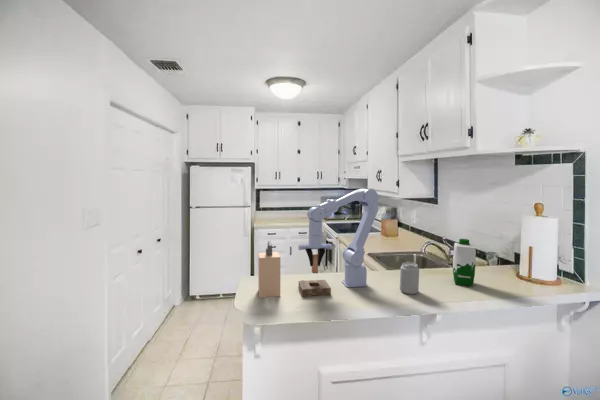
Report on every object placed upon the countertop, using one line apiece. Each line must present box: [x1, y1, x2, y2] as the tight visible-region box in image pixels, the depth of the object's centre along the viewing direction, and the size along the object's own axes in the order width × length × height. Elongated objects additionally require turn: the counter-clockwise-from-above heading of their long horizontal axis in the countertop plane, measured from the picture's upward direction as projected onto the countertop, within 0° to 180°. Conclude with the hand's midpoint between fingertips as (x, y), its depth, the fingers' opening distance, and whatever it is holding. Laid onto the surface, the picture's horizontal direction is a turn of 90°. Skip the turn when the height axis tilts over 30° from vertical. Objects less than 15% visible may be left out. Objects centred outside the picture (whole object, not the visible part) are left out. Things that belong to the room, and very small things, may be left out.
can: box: [399, 262, 420, 295], centre depth 127 cm, size 8×8×12 cm
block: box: [298, 279, 332, 298], centre depth 127 cm, size 12×10×3 cm
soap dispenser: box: [257, 240, 281, 298], centre depth 123 cm, size 13×9×22 cm
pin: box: [311, 253, 319, 274], centre depth 131 cm, size 3×3×8 cm
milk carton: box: [452, 238, 477, 287], centre depth 137 cm, size 9×9×20 cm
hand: (315, 265), depth 131 cm, fingers closed on pin, 3 cm apart
